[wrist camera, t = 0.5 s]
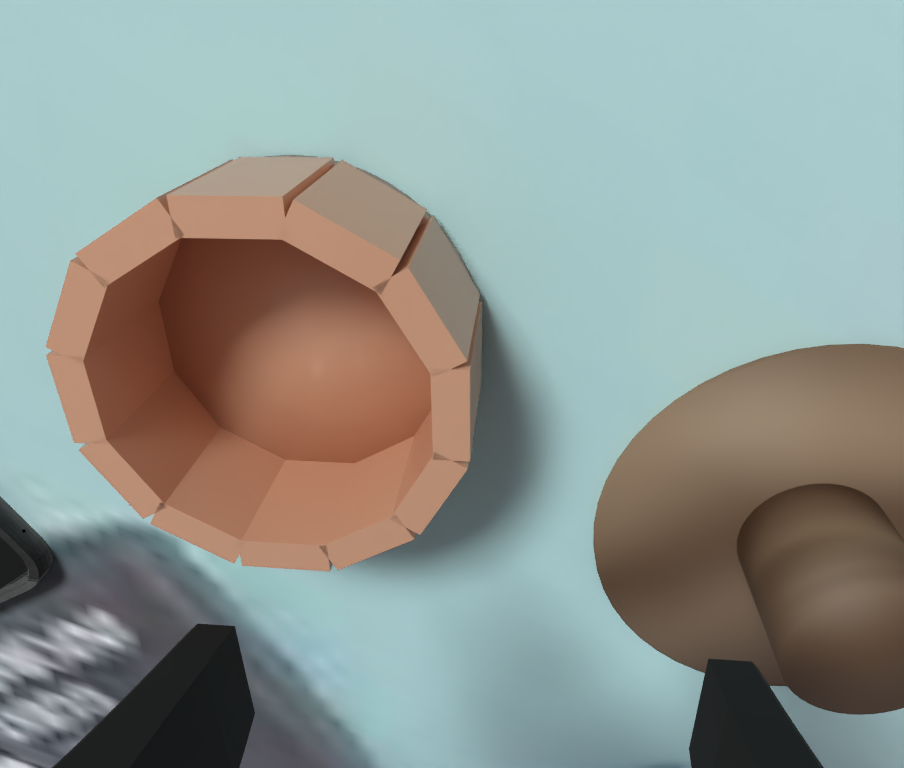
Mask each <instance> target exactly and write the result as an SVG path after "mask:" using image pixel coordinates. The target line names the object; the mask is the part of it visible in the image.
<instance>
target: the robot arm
mask: <svg viewBox="0 0 904 768" xmlns="http://www.w3.org/2000/svg"><path fill="white" fill-rule="evenodd" d="M254 714H255V712H254V708H253V703H252V699H251V695H250V690H249V686H248V682H247V677H246V673H245V669H244V664H243V660H242V656H241V651H240V647H239V643H238V638H237V634H236V630H235V626H223V625H209V624H197V625H196V626H195V627H194V628H192V629H191V630H190V631H189V632H188V633H187V634H186V635H185V636H184V637H183V638H182V639H181V640H180V641H179V642H178V644H177V645H176V646H175V647H174V648H173V649H172V650H171V651H170V652H169V653H168V654H167V655H166V656H165V657H164V658H163V659H162V660H161V661H160V662H159V663H158V664H157V665H156V666H155V667H154V668H153V669H152V670H151V671H150V672H149V673H148V674H147V675H146V676H145V677H144V679H143V680H142V681H141V682H140V683H139V684H138V685H137V686H136V687H135V688H134V689H133V690H132V691H131V692H130V693H129V694H128V695H127V696H126V697H125V698H124V699H123V700H122V701H121V702H120V703H119V704H118V705H117V706H116V707H115V708H114V709H113V710H112V711H111V712H110V713H109V714H108V715H107V716H106V717H105V718H104V719H103V720H102V721H100V722H99V723H98V724H97V725H96V726H95V727H94V728H93V729H92V730H91V731H90V732H89V733H88V734H87V735H86V736H85V737H84V738H83V739H82V740H81V741H80V742H79V743H78V744H77V745H76V746H75V747H74V748H73V749H72V750H71V751H70V752H69V753H68V754H66V755H65V756H64V757H63V758H62V759H61V760H60V761H59V762H58V763H57V764H56V765H54V766H53V767H52V768H239V766H240V763H241V760H242V757H243V753H244V750H245V746H246V743H247V739H248V736H249V732H250V729H251V725H252V722H253V718H254ZM689 751H690V759H691V766H692V768H824V767H823V766H822V765H821V763H820V762H819V760H818V759H817V757H816V756H815V755H814V753H813V752H812V750H811V749H810V747H809V746H808V744H807V743H806V741H805V740H804V738H803V737H802V735H801V734H800V732H799V731H798V729H797V728H796V726H795V725H794V723H793V722H792V720H791V719H790V717H789V716H788V714H787V713H786V711H785V710H784V708H783V707H782V705H781V704H780V702H779V700H778V699H777V697H776V696H775V694H774V693H773V691H772V690H771V688H770V686H769V685H768V683H767V682H766V680H765V678H764V677H763V675H762V674H761V672H760V670H759V669H758V667H757V666H756V665H755V664H754V663H753V662H751V661H736V660H722V659H708V662H707V667H706V672H705V676H704V681H703V686H702V691H701V695H700V700H699V705H698V709H697V714H696V719H695V724H694V728H693V733H692V738H691V742H690V747H689Z"/></svg>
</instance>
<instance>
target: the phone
mask: <svg viewBox="0 0 904 768" xmlns="http://www.w3.org/2000/svg"><path fill="white" fill-rule="evenodd" d="M23 529H25V530H26V532H25V533H23V532H22V530H23ZM52 563H53V554H52V552H51V550H50V547H49V546H48V544H47V543H46V542H45V541H44V539H43V538H42V537H41V536H40V535H39V534H38V533H37V532H36V531H35V530H34V529H33V528H32V527H31V526H30V525H29V524H28V523H27V522H26V521H25V520H24V519H23V518H22V517H21V516H20V515H19V514H18V513H17V512H16V511H15V510H14V509H13V508H12V507H10V506H9V505H8V504H7V503H6V502H5V501H4V500H3V499H2V498H1V497H0V603H2V602H4V601H7V600H9V599H11V598H13V597H15V596H18V595H20V594H22V593H24V592H26V591H29V590H30V589H32V588H33V587H34V586H36V585H37V583H38V582H39V581H40V580H41V579H42V578H43V576H44V575H45V574H46V573H47V572H48V571H49V569H50V568H51V566H52Z"/></svg>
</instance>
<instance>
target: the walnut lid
mask: <svg viewBox="0 0 904 768" xmlns="http://www.w3.org/2000/svg"><path fill="white" fill-rule="evenodd" d="M594 552H595V559H596V565H597V571H598V574H599V577H600V580H601V583H602V586H603V589H604V591H605V593H606V595H607V597H608V598H609V600H610V602H611V604H612V606H613V608H614V609H615V610H616V612H617V613H618V614H619V615H620V617H621V618H622V619H623V621H624V622H625V623H626V624H627V625H628V626H629V627H630V628H631V629H632V630H633V631H634V632H635V633H636V634H637V635H638V636H639V637H640V638H641V639H643V640H644V641H645V642H647V643H648V644H649V645H651V646H652V647H653V648H655V649H656V650H657V651H659V652H661V653H662V654H664V655H666V656H668V657H669V658H671V659H673V660H675V661H677V662H679V663H681V664H683V665H686V666H688V667H690V668H693V669H695V670H697V671H701V672H704V673H705V672H706V667H707V662H708V659H722V660H736V661H751V662H753V663H754V664H755V665H756V666H757V667H758V669H759V670H760V672H761V674H762V675H763V677H764V678H765V680H766V682H767V683H768V685H770V686H788V687H789V688H790V690H791V691H792V692H793V693H794V694H795V695H797V696H798V697H799V698H801V699H802V700H804V701H806V702H807V703H809V704H811V705H814V706H816V707H818V708H821V709H825V710H828V711H832V712H837V713H845V714H875V713H883V712H888V711H893V710H897V709H901V708H904V348H900V347H893V346H881V345H870V344H845V345H826V346H818V347H811V348H804V349H796V350H792V351H788V352H784V353H780V354H776V355H772V356H768V357H764V358H760V359H758V360H755V361H752V362H749V363H747V364H744V365H741V366H738V367H736V368H733V369H730V370H728V371H726V372H724V373H722V374H720V375H718V376H716V377H714V378H712V379H710V380H708V381H706V382H704V383H702V384H700V385H698V386H697V387H695V388H694V389H692V390H691V391H689V392H687V393H686V394H684V395H683V396H681V397H679V398H678V399H676V400H675V401H674V402H672V403H671V404H670V405H669V406H667V407H666V408H665V409H664V410H662V411H661V412H660V413H659V414H657V415H656V416H655V417H654V418H653V419H652V420H651V421H650V422H649V423H648V424H647V425H646V426H645V427H644V428H643V429H642V430H641V431H640V432H639V433H638V434H637V435H636V436H635V437H634V438H633V439H632V441H631V442H630V443H629V445H628V446H627V447H626V449H625V450H624V451H623V453H622V454H621V455H620V457H619V458H618V459H617V461H616V463H615V465H614V467H613V469H612V471H611V472H610V474H609V476H608V478H607V480H606V482H605V485H604V487H603V490H602V493H601V496H600V498H599V501H598V505H597V510H596V516H595V521H594Z"/></svg>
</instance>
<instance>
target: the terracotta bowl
mask: <svg viewBox="0 0 904 768" xmlns="http://www.w3.org/2000/svg"><path fill="white" fill-rule="evenodd" d="M426 210H427V209H426V208H424V207H422V206H420V205H419V204H417V203H416V202H415V201H414V200H412V199H411V198H410V197H409V196H408V195H406V194H405V193H403V192H402V191H400V190H399V189H397V188H396V187H394V186H393V185H391V184H390V183H388V182H386V181H384V180H383V179H381V178H379V177H377V176H375V175H373V174H371V173H369V172H367V171H365V170H362V169H359V168H356V167H354V166H352V165H350V164H348V163H347V162H345V161H343V160H342V161H340V162H338V161H334V157H314V156H300V155H280V156H266V157H239V158H237V159H235V160H230V161H228V162H226V163H224V164H222V165H220V166H218V167H216V168H214V169H212V170H210V171H208V172H206V173H204V174H203V175H201V176H199V177H197V178H195V179H193V180H191V181H189V182H187V183H185V184H183V185H181V186H179V187H177V188H175V189H173V190H171V191H169V192H167V193H165V194H163V195H161V196H160V197H158V198H156V199H154V200H153V201H152V202H150V203H149V204H147V205H146V206H144V207H143V208H141V209H140V210H138V211H137V212H135V213H134V214H133V215H131V216H130V217H128V218H127V219H125V220H124V221H122V222H121V223H119V224H118V225H117V226H115V227H114V228H112V229H111V230H109V231H108V232H106V233H105V234H103V235H102V236H100V237H99V238H98V239H96V240H95V241H93V242H92V243H90V244H89V245H87V246H86V247H84V248H83V249H82V250H80V251H79V252H77V253H76V255H77V256H78V257H76V258H74V259H73V260H71V261H70V264H69V267H68V271H67V274H66V278H65V281H64V285H63V288H62V292H61V295H60V299H59V302H58V306H57V309H56V313H55V316H54V320H53V323H52V327H51V330H50V334H49V337H48V341H47V344H46V347H47V348H49V349H51V350H53V351H52V352H50V353H49V354H47V355H46V357H47V360H48V363H49V366H50V369H51V372H52V375H53V378H54V381H55V385H56V388H57V391H58V394H59V397H60V400H61V403H62V406H63V410H64V413H65V416H66V419H67V422H68V425H69V428H70V431H71V435H72V438H73V441H74V443H85V444H84V445H83V446H82V447H81V448H80V449H79V451H80V452H81V453H82V454H83V455H84V456H85V457H86V458H87V460H88V461H89V462H90V463H91V464H92V465H93V466H94V467H95V468H96V469H97V470H98V471H99V472H100V473H101V474H102V475H103V477H104V478H105V479H106V480H107V481H108V482H109V483H110V484H111V485H112V486H113V487H114V488H115V489H116V490H117V491H118V492H119V494H120V495H121V496H122V497H123V498H124V499H125V500H126V501H127V502H128V503H129V504H130V505H131V506H132V507H133V508H134V510H135V511H136V512H137V513H138V514H139V515H140V516H141V517H142V518H143V519H144V518H146V517H148V516H150V515H152V514H154V513H155V514H154V516H153V519H152V521H151V523H150V524H152V525H154V526H156V527H158V528H160V529H162V530H164V531H166V532H169V533H171V534H173V535H175V536H177V537H179V538H181V539H183V540H185V541H188V542H190V543H192V544H194V545H196V546H198V547H200V548H202V549H204V550H207V551H209V552H211V553H213V554H215V555H217V556H219V557H221V558H223V559H226V560H228V561H230V562H232V563H235V561H236V559H237V558H238V556H239V554H240V557H241V562H242V566H255V567H270V568H286V569H301V570H317V571H330V570H331V568H332V565H334V566H335V567H336V568H337V570H340V569H342V568H345V567H347V566H350V565H352V564H355V563H357V562H360V561H362V560H365V559H367V558H370V557H372V556H375V555H377V554H379V553H382V552H384V551H387V550H389V549H392V548H394V547H397V546H399V545H402V544H404V543H407V542H409V541H412V540H414V539H415V534H416V533H417V534H419V535H421V533H422V532H423V531H424V529H425V528H426V526H427V525H428V524H429V522H430V521H431V519H432V518H433V517H434V515H435V514H436V513H437V511H438V510H439V508H440V507H441V506H442V504H443V503H444V501H445V500H446V499H447V497H448V496H449V494H450V493H451V492H452V490H453V489H454V488H455V486H456V485H457V483H458V482H459V481H460V479H461V478H462V476H463V475H464V474H465V472H466V471H467V469H468V464H469V462H470V459H471V452H472V445H473V438H474V431H475V424H476V417H477V410H478V403H479V396H480V389H481V382H482V340H483V334H482V301H479V297H480V293H479V291H478V289H477V288H476V286H475V284H474V283H473V281H472V279H471V276H470V274H469V271H468V269H467V268H466V266H465V264H464V262H463V260H462V258H461V256H460V254H459V252H458V250H457V249H456V247H455V246H454V245H453V243H452V242H451V240H450V239H449V237H448V236H447V234H446V233H445V232H444V230H443V229H442V228H441V227H440V226H439V224H438V223H437V221H436V219H435V218H434V216H432V217H431V216H430V215H429V214H428V213H427V212H426Z"/></svg>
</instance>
